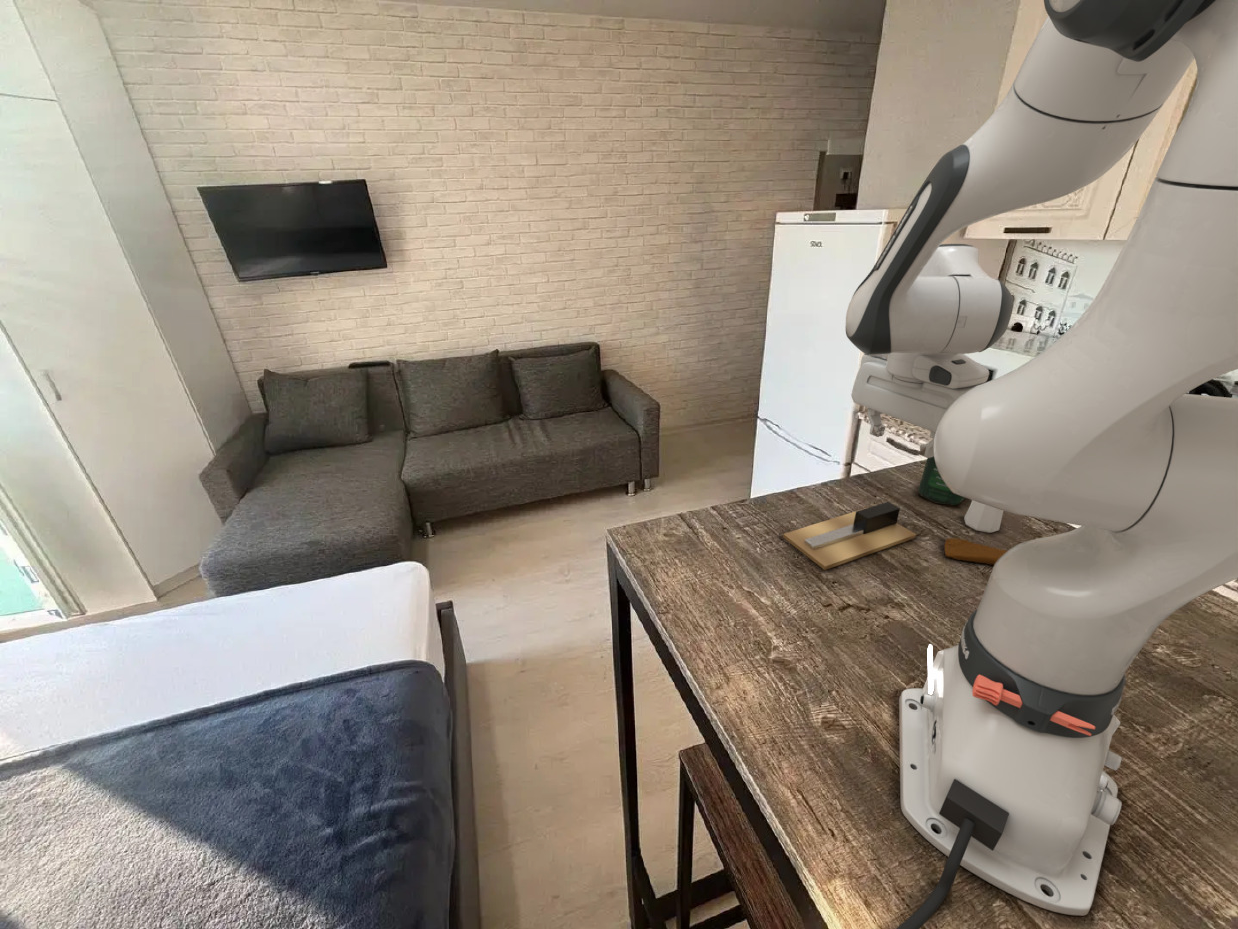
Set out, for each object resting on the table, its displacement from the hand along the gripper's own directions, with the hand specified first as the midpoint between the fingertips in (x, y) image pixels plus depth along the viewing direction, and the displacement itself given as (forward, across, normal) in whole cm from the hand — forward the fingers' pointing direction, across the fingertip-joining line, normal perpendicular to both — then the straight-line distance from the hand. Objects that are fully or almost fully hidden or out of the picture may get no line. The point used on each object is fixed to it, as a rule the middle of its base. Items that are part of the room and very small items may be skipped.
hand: (900, 445), depth 83 cm
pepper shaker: (+16, +6, +17) cm, 25 cm away
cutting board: (+16, -1, -7) cm, 18 cm away
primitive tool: (+17, +16, +10) cm, 25 cm away
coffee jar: (+16, -4, +21) cm, 26 cm away
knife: (+16, -1, -6) cm, 17 cm away
